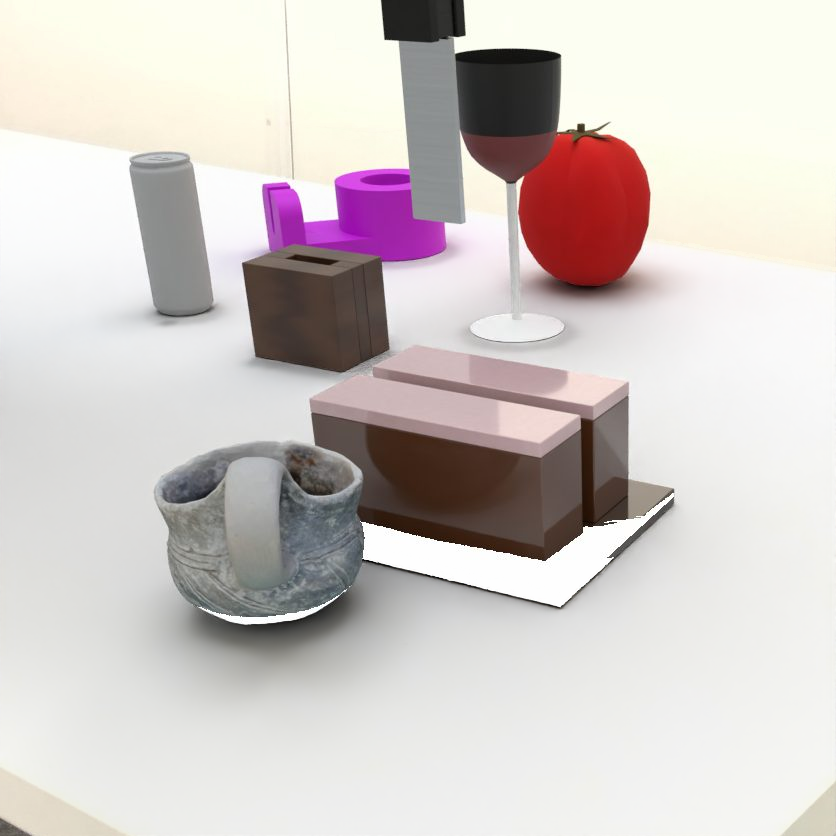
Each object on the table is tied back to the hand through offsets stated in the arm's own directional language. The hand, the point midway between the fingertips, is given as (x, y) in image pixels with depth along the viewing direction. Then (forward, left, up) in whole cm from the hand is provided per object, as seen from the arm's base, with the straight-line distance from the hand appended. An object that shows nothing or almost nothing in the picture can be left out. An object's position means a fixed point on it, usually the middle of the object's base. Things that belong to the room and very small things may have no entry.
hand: (425, 36), depth 66 cm
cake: (+3, -3, -25) cm, 25 cm away
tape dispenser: (-38, +43, -25) cm, 63 cm away
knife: (0, 0, -9) cm, 9 cm away
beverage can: (-40, +21, -25) cm, 51 cm away
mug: (0, -17, -25) cm, 30 cm away
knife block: (-23, +17, -25) cm, 38 cm away
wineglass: (-13, +29, -25) cm, 40 cm away
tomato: (-14, +43, -25) cm, 52 cm away
